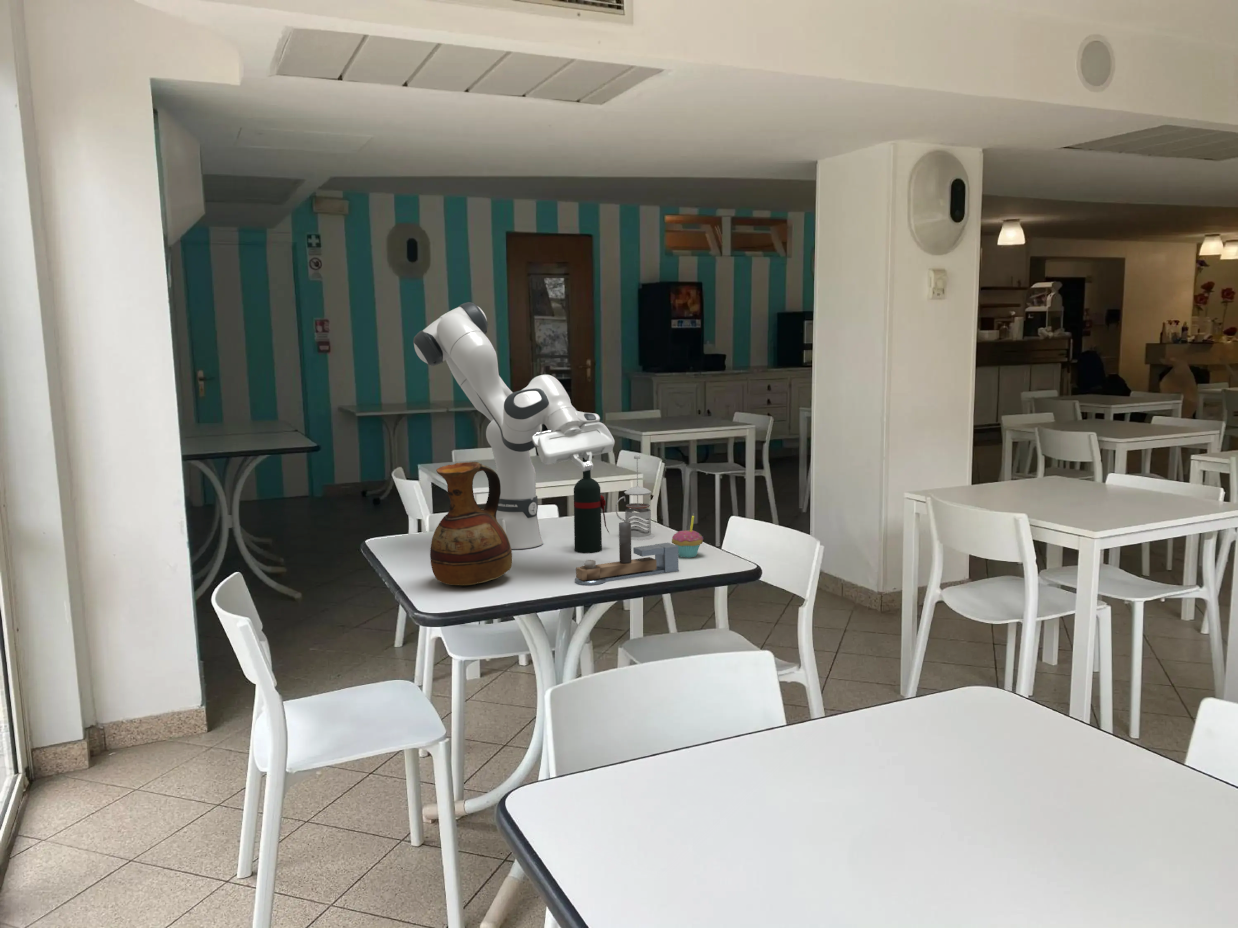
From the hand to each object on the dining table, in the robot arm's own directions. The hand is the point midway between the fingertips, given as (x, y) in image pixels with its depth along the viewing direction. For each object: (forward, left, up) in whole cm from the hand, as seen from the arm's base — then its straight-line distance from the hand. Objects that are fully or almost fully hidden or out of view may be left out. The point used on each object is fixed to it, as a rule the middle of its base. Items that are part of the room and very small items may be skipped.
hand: (588, 469), depth 232 cm
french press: (-15, +45, -27) cm, 55 cm away
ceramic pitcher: (-22, -19, -27) cm, 40 cm away
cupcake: (+11, +31, -27) cm, 43 cm away
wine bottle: (-16, +24, -27) cm, 40 cm away
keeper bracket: (+8, +4, -27) cm, 29 cm away
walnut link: (+7, +2, -26) cm, 27 cm away
